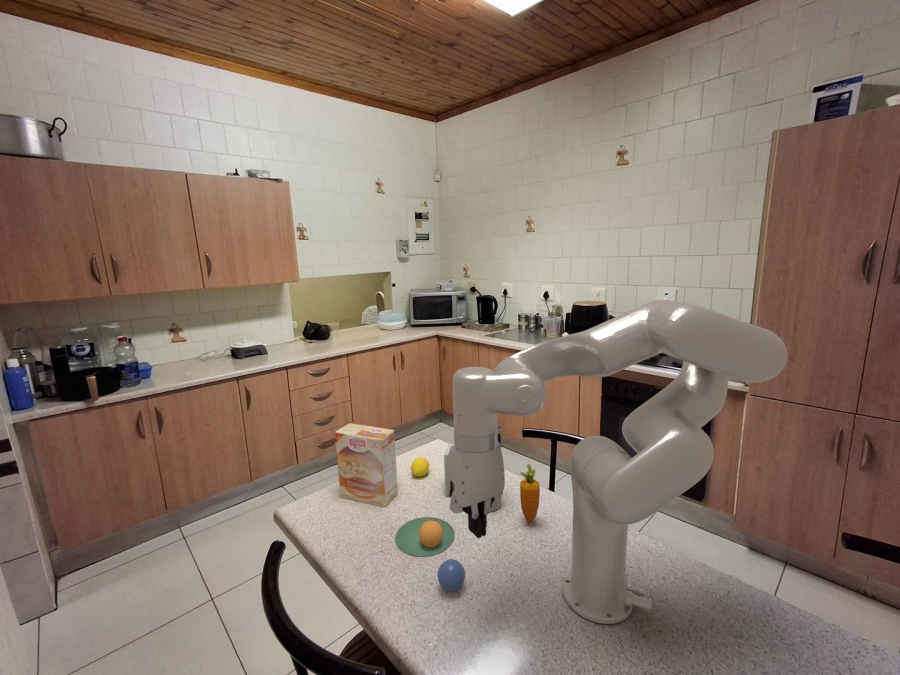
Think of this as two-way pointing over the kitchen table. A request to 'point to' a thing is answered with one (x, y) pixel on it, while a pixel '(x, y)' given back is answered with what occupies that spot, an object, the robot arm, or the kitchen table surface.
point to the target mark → (411, 542)
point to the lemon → (420, 466)
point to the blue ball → (451, 575)
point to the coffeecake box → (367, 464)
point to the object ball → (430, 533)
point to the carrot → (529, 495)
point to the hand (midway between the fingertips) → (477, 532)
